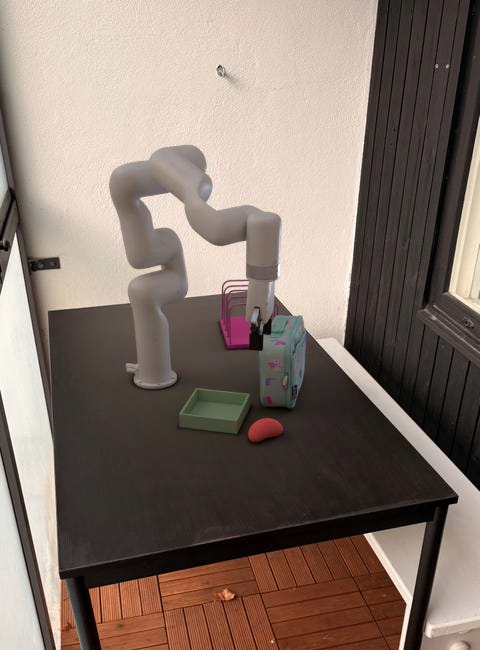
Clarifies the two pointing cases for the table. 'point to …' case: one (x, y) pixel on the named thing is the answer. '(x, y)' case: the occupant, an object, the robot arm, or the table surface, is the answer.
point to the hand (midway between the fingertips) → (260, 341)
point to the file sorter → (236, 321)
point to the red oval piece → (264, 429)
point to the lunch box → (282, 362)
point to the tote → (215, 410)
